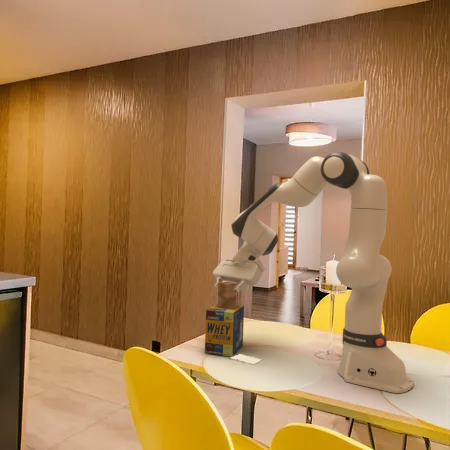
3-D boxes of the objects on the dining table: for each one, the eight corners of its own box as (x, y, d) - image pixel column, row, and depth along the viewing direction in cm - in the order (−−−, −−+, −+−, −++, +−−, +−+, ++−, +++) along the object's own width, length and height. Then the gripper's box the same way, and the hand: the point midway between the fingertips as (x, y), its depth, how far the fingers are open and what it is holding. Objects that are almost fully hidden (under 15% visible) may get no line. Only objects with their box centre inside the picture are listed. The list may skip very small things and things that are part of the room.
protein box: (204, 353, 145) (205, 309, 146) (217, 342, 160) (218, 302, 160) (232, 357, 142) (233, 312, 143) (243, 345, 157) (244, 304, 157)
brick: (236, 307, 152) (236, 283, 152) (227, 309, 148) (228, 284, 148) (225, 305, 155) (226, 281, 155) (217, 307, 151) (217, 282, 151)
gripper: (220, 254, 163) (202, 280, 156) (261, 258, 150) (243, 287, 142) (227, 264, 167) (209, 290, 159) (268, 270, 153) (251, 298, 146)
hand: (226, 289), depth 151 cm, fingers open, 8 cm apart
